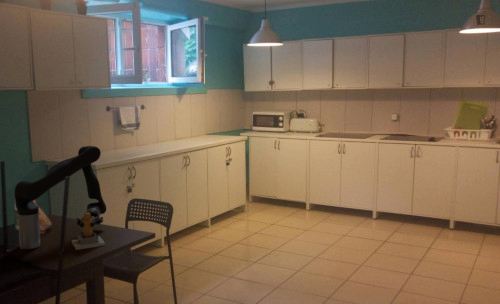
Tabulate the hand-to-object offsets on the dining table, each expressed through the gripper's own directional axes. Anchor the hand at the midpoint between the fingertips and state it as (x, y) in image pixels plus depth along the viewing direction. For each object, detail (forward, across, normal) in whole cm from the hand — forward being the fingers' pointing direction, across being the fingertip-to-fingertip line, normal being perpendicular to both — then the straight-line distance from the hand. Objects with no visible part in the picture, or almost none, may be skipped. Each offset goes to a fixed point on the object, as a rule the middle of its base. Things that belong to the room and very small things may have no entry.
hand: (86, 225), depth 237 cm
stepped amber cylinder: (-3, 0, +8) cm, 8 cm away
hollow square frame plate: (-3, 0, +11) cm, 11 cm away
